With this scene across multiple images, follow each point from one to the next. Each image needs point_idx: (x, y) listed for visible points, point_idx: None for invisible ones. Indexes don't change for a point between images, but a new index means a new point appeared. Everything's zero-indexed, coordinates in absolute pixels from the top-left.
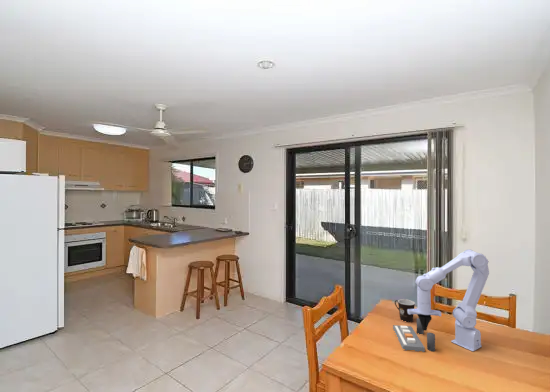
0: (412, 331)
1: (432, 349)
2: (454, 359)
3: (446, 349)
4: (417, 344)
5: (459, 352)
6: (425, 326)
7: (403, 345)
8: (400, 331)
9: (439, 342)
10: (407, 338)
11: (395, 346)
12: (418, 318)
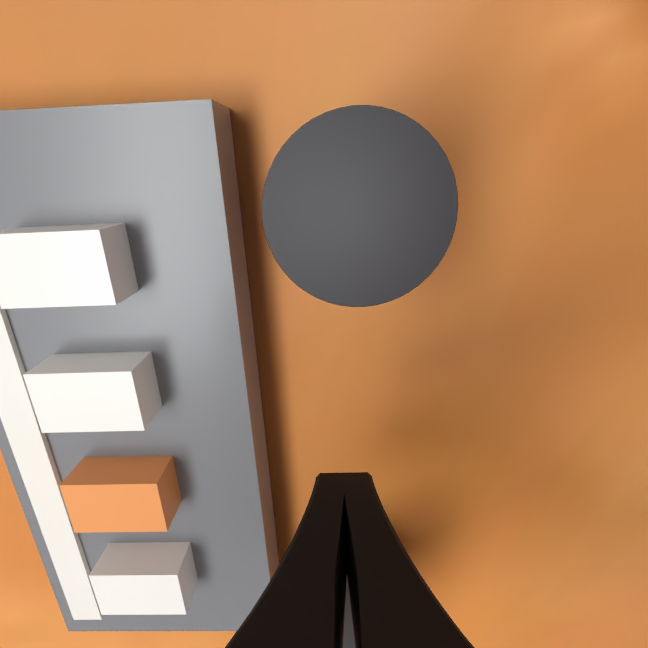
0: (202, 307)
1: None
2: (501, 642)
3: (516, 522)
4: (214, 595)
5: (619, 550)
6: (353, 624)
7: (70, 626)
8: (24, 337)
9: (512, 402)
10: (94, 592)
11: (21, 544)
12: (330, 143)
